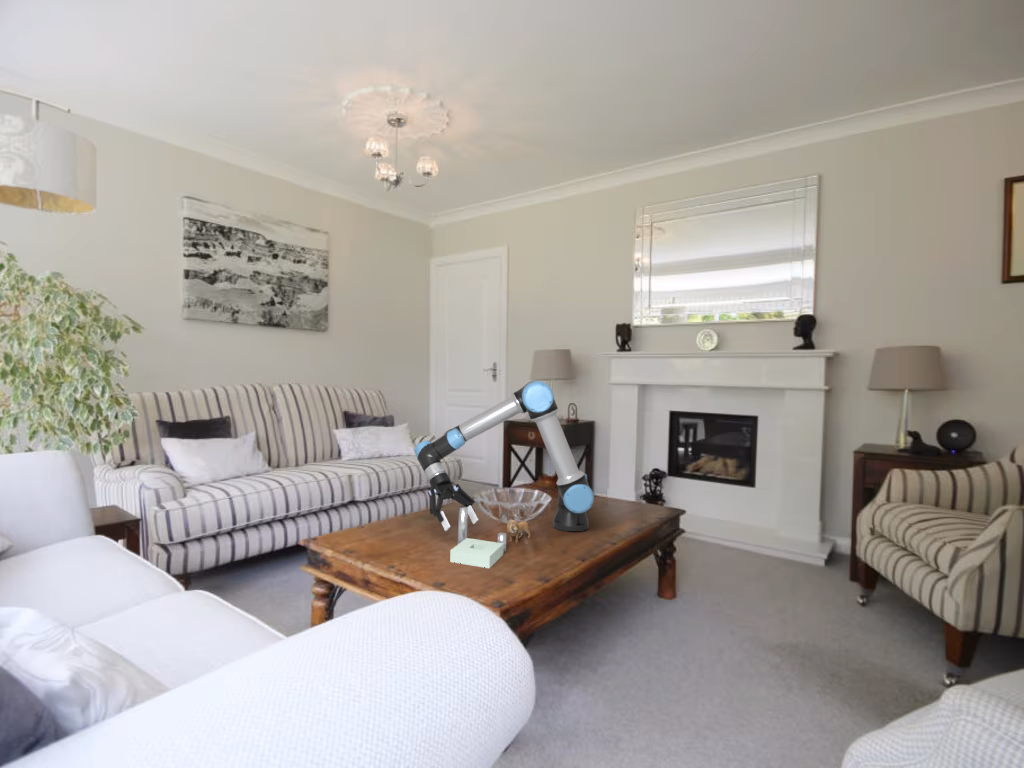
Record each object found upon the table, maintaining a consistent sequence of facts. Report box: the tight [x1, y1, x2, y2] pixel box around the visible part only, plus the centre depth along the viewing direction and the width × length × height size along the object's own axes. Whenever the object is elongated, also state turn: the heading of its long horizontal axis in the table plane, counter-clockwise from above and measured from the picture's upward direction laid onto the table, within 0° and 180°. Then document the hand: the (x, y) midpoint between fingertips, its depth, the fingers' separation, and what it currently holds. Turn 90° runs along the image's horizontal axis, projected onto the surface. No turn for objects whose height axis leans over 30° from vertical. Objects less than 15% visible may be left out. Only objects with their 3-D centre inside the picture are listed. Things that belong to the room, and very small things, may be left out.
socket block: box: [449, 537, 504, 569], centre depth 182 cm, size 14×14×4 cm
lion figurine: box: [506, 519, 531, 544], centre depth 203 cm, size 15×5×9 cm, turn 151°
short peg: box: [497, 532, 508, 553], centre depth 191 cm, size 3×3×6 cm
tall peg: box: [457, 505, 469, 545], centre depth 194 cm, size 3×3×14 cm
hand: (462, 525), depth 194 cm, fingers open, 13 cm apart
